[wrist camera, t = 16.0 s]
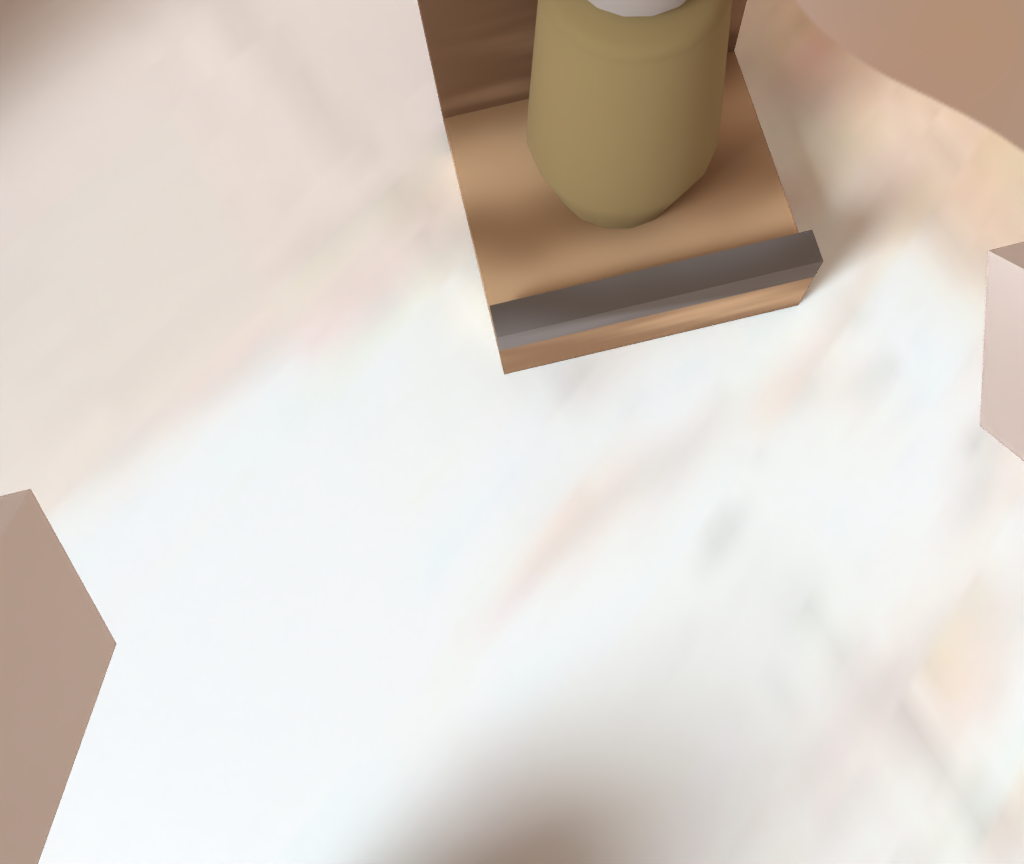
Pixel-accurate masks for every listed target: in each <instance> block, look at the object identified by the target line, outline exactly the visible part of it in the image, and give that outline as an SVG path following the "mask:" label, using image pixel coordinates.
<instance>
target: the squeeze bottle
mask: <svg viewBox="0 0 1024 864" xmlns="http://www.w3.org/2000/svg"><path fill="white" fill-rule="evenodd" d="M731 6H732V0H538V4H537V15H536V26H535V37H534V48H533V59H532V70H531V81H530V91H529V102H528V118H527V145H528V147H529V149H530V152H531V154H532V156H533V159H534V161H535V163H536V166H537V168H538V170H539V173H540V174H541V176H542V177H543V178H544V179H545V181H546V182H547V183H548V185H549V186H550V187H551V188H552V190H553V191H554V192H555V193H556V195H557V196H558V197H559V199H560V200H561V201H562V202H563V204H565V205H566V206H567V207H568V208H569V209H570V210H571V211H572V212H573V213H574V214H575V215H577V216H578V217H579V218H580V219H581V220H584V221H586V222H589V223H592V224H594V225H597V226H600V227H602V228H633V227H636V226H639V225H641V224H644V223H647V222H650V221H652V220H655V219H656V218H657V217H658V216H659V215H660V214H662V213H663V212H664V211H665V210H666V209H667V208H668V207H670V206H671V205H672V204H673V203H674V202H675V201H676V200H677V199H678V198H679V197H680V196H681V195H683V194H684V193H685V192H686V191H687V190H688V189H689V188H690V187H691V186H692V185H693V184H694V183H695V182H696V181H698V180H699V179H700V178H701V177H702V176H703V175H704V174H705V172H706V170H707V168H708V165H709V163H710V161H711V159H712V157H713V154H714V152H715V150H716V148H717V145H718V143H719V135H720V124H721V114H722V103H723V92H724V81H725V71H726V60H727V49H728V39H729V28H730V17H731Z"/></svg>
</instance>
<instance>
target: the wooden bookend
mask: <svg viewBox="0 0 1024 864" xmlns="http://www.w3.org/2000/svg"><path fill="white" fill-rule="evenodd" d="M417 1H418V5H419V10H420V15H421V19H422V24H423V28H424V33H425V38H426V42H427V47H428V51H429V56H430V61H431V65H432V70H433V74H434V79H435V84H436V88H437V93H438V97H439V102H440V107H441V111H442V116H443V121H444V125H445V129H446V133H447V137H448V141H449V146H450V150H451V154H452V158H453V162H454V166H455V171H456V175H457V179H458V183H459V187H460V191H461V196H462V200H463V204H464V208H465V212H466V216H467V221H468V225H469V229H470V233H471V237H472V241H473V246H474V250H475V254H476V258H477V262H478V266H479V271H480V275H481V279H482V283H483V287H484V291H485V296H486V300H487V304H488V308H489V312H490V316H491V321H492V325H493V329H494V333H495V337H496V341H497V346H498V350H499V354H500V358H501V362H502V366H503V371H504V374H508V373H512V372H516V371H520V370H525V369H529V368H533V367H537V366H542V365H546V364H550V363H554V362H559V361H563V360H567V359H571V358H576V357H580V356H584V355H588V354H593V353H597V352H601V351H605V350H610V349H614V348H618V347H622V346H627V345H631V344H635V343H639V342H644V341H648V340H652V339H656V338H661V337H665V336H669V335H673V334H678V333H682V332H686V331H690V330H695V329H699V328H703V327H707V326H711V325H716V324H720V323H724V322H728V321H733V320H737V319H741V318H745V317H750V316H754V315H758V314H762V313H767V312H771V311H775V310H779V309H784V308H788V307H792V306H796V305H798V304H799V302H800V301H801V299H802V297H803V295H804V294H805V292H806V290H807V288H808V287H809V285H810V283H811V281H812V280H813V278H814V276H815V274H816V273H817V271H818V269H819V267H820V266H821V264H822V262H823V259H822V257H821V254H820V251H819V248H818V246H817V243H816V240H815V237H814V234H813V232H812V230H809V231H805V232H801V233H798V230H797V227H796V224H795V222H794V219H793V216H792V213H791V210H790V207H789V205H788V202H787V199H786V196H785V193H784V190H783V188H782V185H781V182H780V179H779V176H778V174H777V171H776V168H775V165H774V162H773V159H772V157H771V154H770V151H769V148H768V145H767V143H766V140H765V137H764V134H763V131H762V128H761V126H760V123H759V120H758V117H757V114H756V112H755V109H754V106H753V103H752V100H751V97H750V95H749V92H748V89H747V86H746V83H745V81H744V78H743V75H742V72H741V69H740V66H739V64H738V61H737V58H736V55H735V52H734V49H735V45H736V41H737V37H738V33H739V29H740V25H741V21H742V17H743V13H744V9H745V5H746V1H747V0H732V6H731V17H730V28H729V39H728V49H727V60H726V71H725V81H724V92H723V103H722V114H721V124H720V135H719V143H718V145H717V148H716V150H715V152H714V154H713V157H712V159H711V161H710V163H709V165H708V168H707V170H706V172H705V174H704V175H703V176H702V177H701V178H700V179H699V180H698V181H696V182H695V183H694V184H693V185H692V186H691V187H690V188H689V189H688V190H687V191H686V192H685V193H684V194H683V195H681V196H680V197H679V198H678V199H677V200H676V201H675V202H674V203H673V204H672V205H671V206H670V207H668V208H667V209H666V210H665V211H664V212H663V213H662V214H660V215H659V216H658V217H657V218H656V219H655V220H652V221H650V222H647V223H644V224H641V225H639V226H636V227H633V228H602V227H600V226H597V225H594V224H592V223H589V222H586V221H584V220H581V219H580V218H579V217H578V216H577V215H575V214H574V213H573V212H572V211H571V210H570V209H569V208H568V207H567V206H566V205H565V204H563V202H562V201H561V200H560V199H559V197H558V196H557V195H556V193H555V192H554V191H553V190H552V188H551V187H550V186H549V185H548V183H547V182H546V181H545V179H544V178H543V177H542V176H541V174H540V173H539V170H538V168H537V166H536V163H535V161H534V159H533V156H532V154H531V152H530V149H529V147H528V145H527V118H528V102H529V91H530V81H531V70H532V59H533V48H534V37H535V26H536V15H537V4H538V0H417Z"/></svg>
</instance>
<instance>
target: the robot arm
mask: <svg viewBox="0 0 1024 864" xmlns="http://www.w3.org/2000/svg"><path fill="white" fill-rule="evenodd" d="M980 426H981V427H982V428H983V429H984V430H986V431H987V432H988V433H989V434H991V435H992V436H993V437H994V438H996V439H997V440H998V441H999V442H1000V443H1002V444H1003V445H1004V446H1005V447H1007V448H1008V449H1009V450H1010V451H1012V452H1013V453H1014V454H1015V455H1017V456H1018V457H1019V458H1020V459H1021V460H1023V461H1024V242H1021V243H1017V244H1013V245H1009V246H1005V247H1001V248H997V249H993V250H989V251H988V265H987V286H986V308H985V329H984V351H983V372H982V393H981V415H980ZM115 646H116V642H115V640H114V639H113V637H112V635H111V633H110V631H109V630H108V628H107V626H106V624H105V622H104V621H103V619H102V617H101V615H100V613H99V612H98V610H97V608H96V606H95V604H94V603H93V601H92V599H91V597H90V595H89V593H88V592H87V590H86V588H85V586H84V584H83V583H82V581H81V579H80V577H79V575H78V574H77V572H76V570H75V568H74V566H73V565H72V563H71V561H70V559H69V557H68V556H67V554H66V552H65V550H64V548H63V546H62V545H61V543H60V541H59V539H58V537H57V536H56V534H55V532H54V530H53V528H52V527H51V525H50V523H49V521H48V519H47V518H46V516H45V514H44V512H43V510H42V509H41V507H40V505H39V503H38V501H37V500H36V498H35V496H34V494H33V492H32V490H31V489H28V490H24V491H20V492H16V493H12V494H8V495H4V496H0V864H38V862H39V859H40V856H41V854H42V851H43V848H44V845H45V842H46V840H47V837H48V834H49V831H50V828H51V826H52V823H53V820H54V817H55V814H56V812H57V809H58V806H59V803H60V800H61V797H62V795H63V792H64V789H65V786H66V783H67V781H68V778H69V775H70V772H71V769H72V767H73V764H74V761H75V758H76V755H77V753H78V750H79V747H80V744H81V741H82V739H83V736H84V733H85V730H86V727H87V725H88V722H89V719H90V716H91V713H92V711H93V708H94V705H95V702H96V699H97V697H98V694H99V691H100V688H101V685H102V683H103V680H104V677H105V674H106V671H107V668H108V666H109V663H110V660H111V657H112V654H113V652H114V649H115Z"/></svg>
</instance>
